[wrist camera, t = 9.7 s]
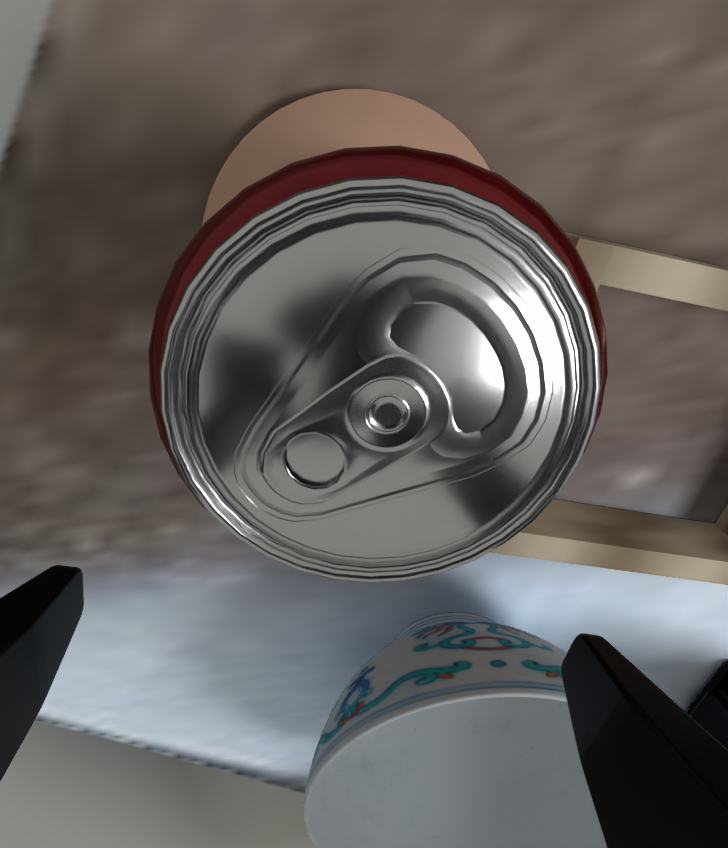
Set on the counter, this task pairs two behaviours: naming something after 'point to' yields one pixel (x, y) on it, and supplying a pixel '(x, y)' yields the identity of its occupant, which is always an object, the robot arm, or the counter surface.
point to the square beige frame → (621, 529)
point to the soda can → (378, 363)
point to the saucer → (335, 136)
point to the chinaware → (452, 747)
